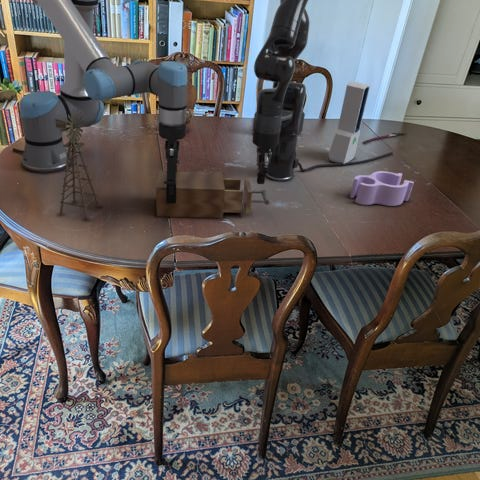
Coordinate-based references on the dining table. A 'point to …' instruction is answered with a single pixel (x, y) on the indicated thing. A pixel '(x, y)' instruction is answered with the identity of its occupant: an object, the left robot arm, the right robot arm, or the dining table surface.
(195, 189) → the cabinet
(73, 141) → the miniature windmill
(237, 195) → the drawer
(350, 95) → the electronic device
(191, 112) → the lion figurine
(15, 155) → the dining table surface
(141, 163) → the dining table surface
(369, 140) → the sword
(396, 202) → the clip
